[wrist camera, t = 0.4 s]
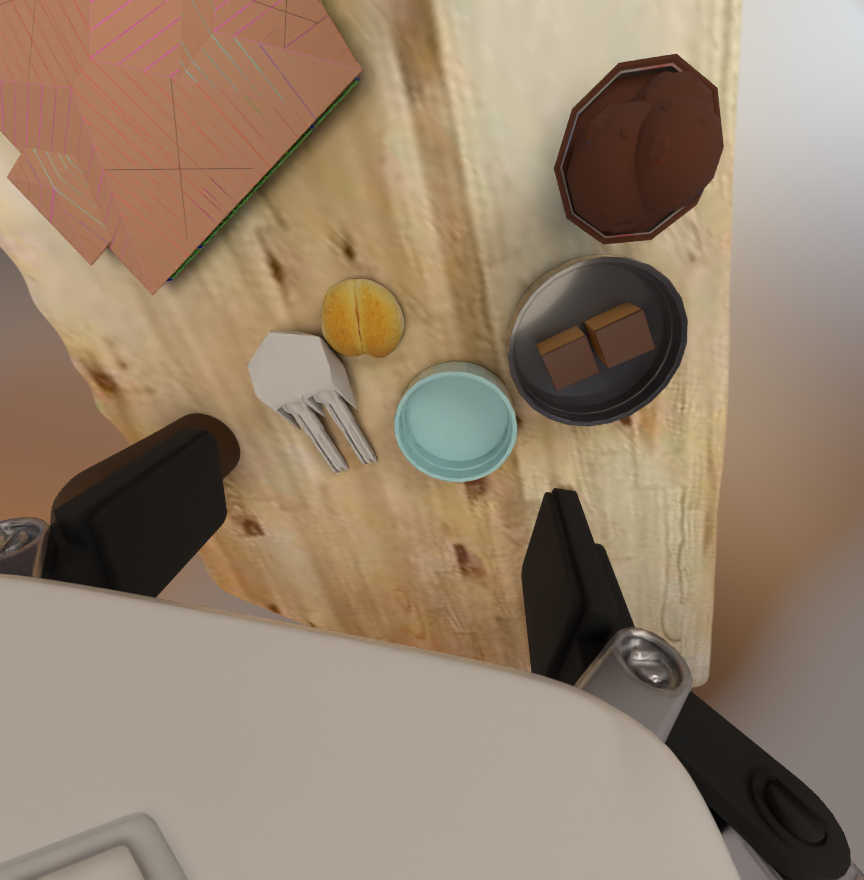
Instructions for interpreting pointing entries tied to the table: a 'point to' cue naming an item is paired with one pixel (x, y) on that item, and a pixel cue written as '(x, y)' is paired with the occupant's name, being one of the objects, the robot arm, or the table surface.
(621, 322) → the snack cake
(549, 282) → the charcoal bowl
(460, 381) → the blue bowl
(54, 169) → the house
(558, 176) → the ice cream bowl
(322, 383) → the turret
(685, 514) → the table surface
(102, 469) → the olive oil
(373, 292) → the bread roll
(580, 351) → the snack cake
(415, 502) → the table surface
